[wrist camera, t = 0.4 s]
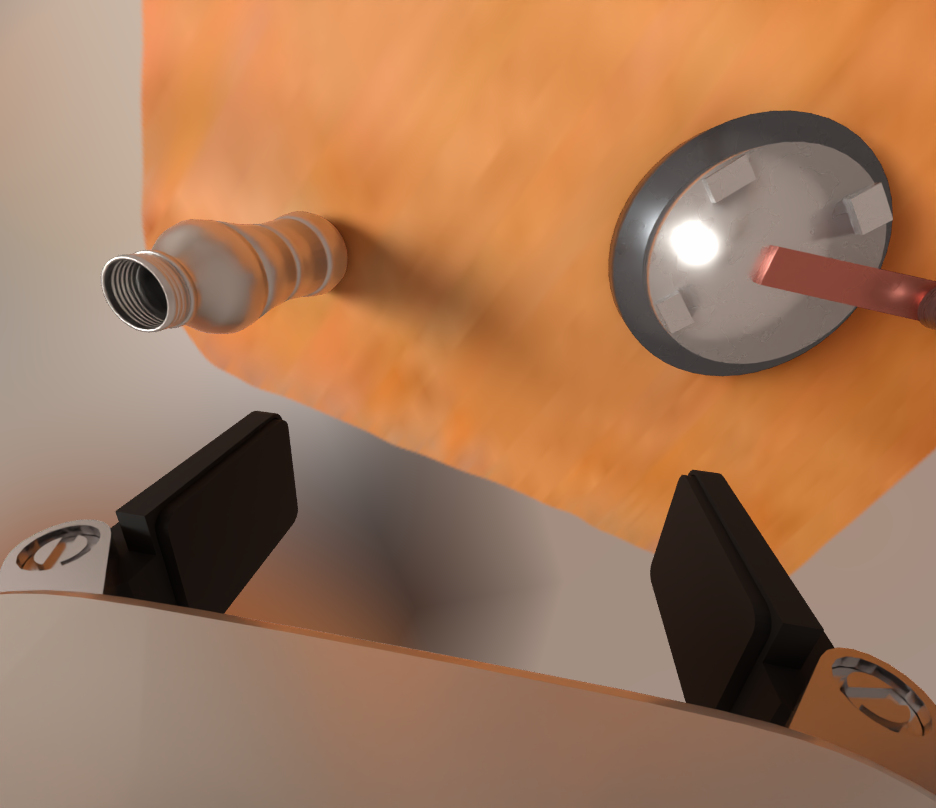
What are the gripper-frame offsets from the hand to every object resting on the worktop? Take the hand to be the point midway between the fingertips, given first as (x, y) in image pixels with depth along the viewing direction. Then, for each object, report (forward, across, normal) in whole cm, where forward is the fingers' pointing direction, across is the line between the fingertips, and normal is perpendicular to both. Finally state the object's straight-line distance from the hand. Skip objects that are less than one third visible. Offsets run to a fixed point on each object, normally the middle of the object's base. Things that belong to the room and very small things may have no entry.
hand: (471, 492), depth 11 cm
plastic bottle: (+31, +18, -1) cm, 35 cm away
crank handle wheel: (+27, -19, -3) cm, 33 cm away
